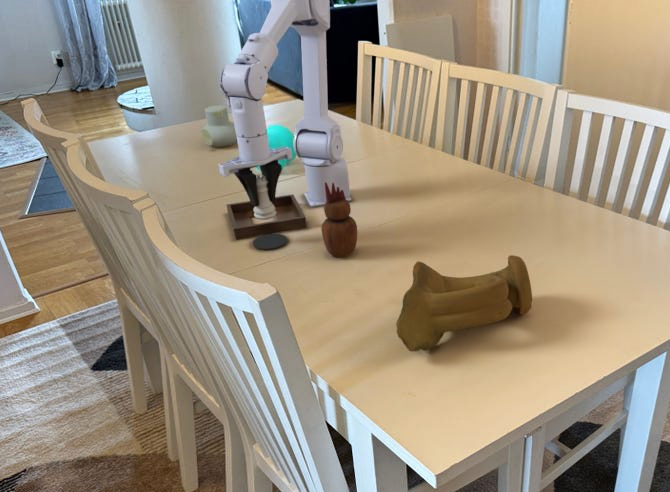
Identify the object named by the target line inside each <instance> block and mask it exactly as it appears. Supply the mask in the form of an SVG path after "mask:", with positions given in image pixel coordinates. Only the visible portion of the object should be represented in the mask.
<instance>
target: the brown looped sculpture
mask: <svg viewBox="0 0 670 492" xmlns="http://www.w3.org/2000/svg"><path fill="white" fill-rule="evenodd" d="M412 268H413V269H412V278H413V279H412V284H411V286H410V288H409V289H407V291H405V293H404V295H403V297H402V307H401V310H400V313H399V316H398V319H397V320H396V335H397V337H398V338H399V339H400V340H401V341H402V343H403V345H404V346H405V347H406V349H407V350H408V351H409V352H411V353H412V352H420V351H430V350H433V349H434V348H435V347H436V346H437V345H438V344H439V343H440V341H441V339H442V337H443V336H444V334H445V333H449V332H456V331H459V330H463V329H467V328H468V329H469V328H474V327H479V326H484V325H488V324H489V325H490V324H493V323H496V322H500V321H502V320H504V319H506V318H508V316H510V313H511V312H512V310H513V308H517V311H518V313H519V314H520V315H524V314H527V313H528V312H529V311H530V310H531V309H532V307H533V292H532V291H533V290H532V285H531V279H530V275H529V272H528V271H529V270H528V267H527V265H526V262H525V261H524V260H523V258H522V257H520V256H517V255H515V254H514V255H513V254H512V255H511V254H510V255H509V256H508V257H507V265H506V266H505V267H503V268H502V269H500V270H496V271H491V272H489V273H486V274H481V275H475V276H463V277H456V276H448V275H447V276H446V275H442V274H440V272H438V271H436V270H435V269H434V268H432V267H431V266H429V265H427V264H426V263H425V262H423V261H419V260H418V261H416V262H415V264H414V265H413V267H412Z"/></svg>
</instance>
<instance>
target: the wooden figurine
mask: <svg viewBox="0 0 670 492" xmlns="http://www.w3.org/2000/svg"><path fill="white" fill-rule="evenodd" d="M325 191H326V203H325V205H323V212H324V215H325V219H324V221H323V222H322V224H321V230H320V231H321V236H322V241H323V243H324V246H325V248H326V251H327V253H328V254H329V255H330V256H332V257H335V258H344V257H349V256H350V255H352V254H353V253H354V252H355V250H356V248H357V243H358V225H357V221H356V220H355V219H354V218H353V217H352V216H350V215H351V212H352V211H351V209H352V208H351V204H350V201H347V200H346V199H345V195H344V192H343V190H341V191H340V190H339V187H337V191H336V190H335V186H334V183H332V191H331V193H330V190H329V188H328V185H327V183H326V182H325Z"/></svg>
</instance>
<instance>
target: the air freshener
mask: <svg viewBox="0 0 670 492" xmlns="http://www.w3.org/2000/svg"><path fill="white" fill-rule="evenodd" d="M228 113H229V112H228V108H227V107H226V106H225V105H219V104H218V105H211V106H207V107H206V108H205V109H204V114H205V119H206V124H205V125H204V126H203V127H202V128H201V130H200V133H201V137H202V139H203V141H204V142H205V143H206V145H208V146H210V147H212V148H226V147H229V146H232V145H234V144H236V143H237V137H236V131H235V126H234V122H232V121H230V118H229V114H228Z"/></svg>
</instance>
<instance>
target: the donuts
mask: <svg viewBox="0 0 670 492" xmlns="http://www.w3.org/2000/svg"><path fill="white" fill-rule="evenodd" d="M266 128H267V134H268V141H269V147H270V149H277V148H283V147H288V148H290V149H291V151H292V159H289V160H287V159H284V160H280V161H278V163H279V164H281V165H282V170H283V169H284V168H285V167H286V164H289V163H291V162H293V161H294V159H296V157H297V155H296V153H295V151H294V148H293V140H294V136H295V134H293V131H291V130H290V129H289V128H287V127H285V126H284V125H280V124H272V125H268V126H266ZM255 169H257V170H259V171H260V172H261V169H260V166H258V167H255Z"/></svg>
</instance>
